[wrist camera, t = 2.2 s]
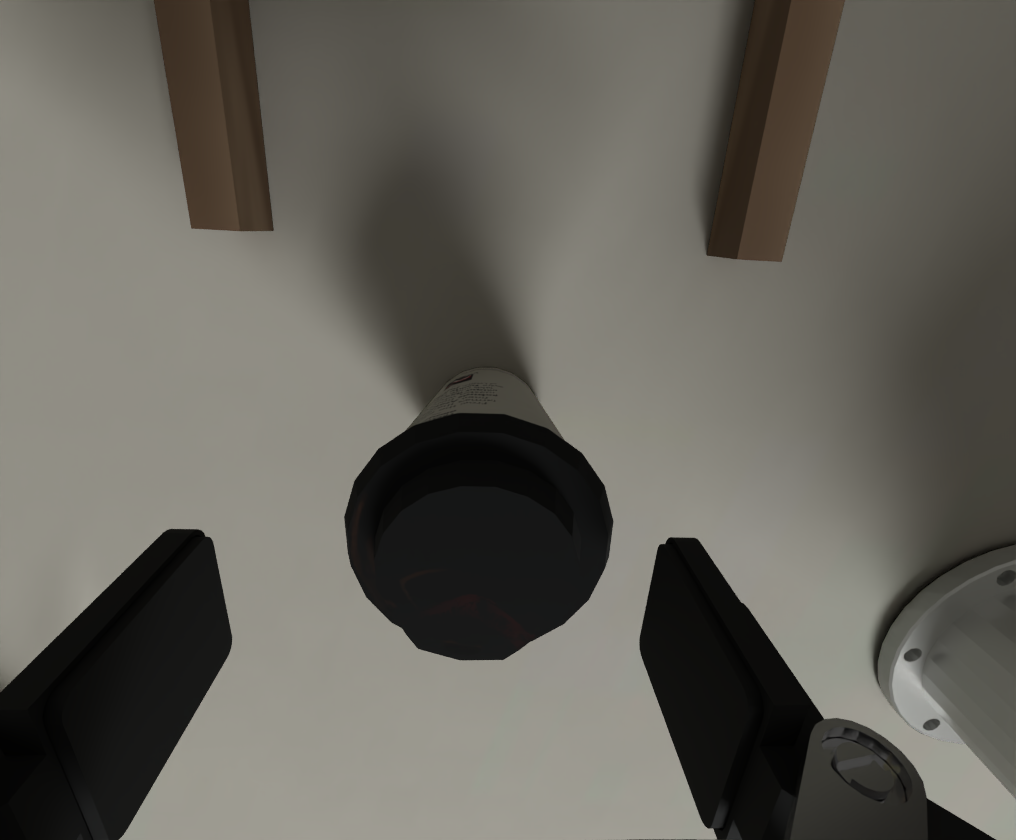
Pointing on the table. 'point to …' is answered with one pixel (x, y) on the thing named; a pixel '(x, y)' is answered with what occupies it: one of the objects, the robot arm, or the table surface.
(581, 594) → the coffee cup
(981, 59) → the table surface
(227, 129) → the bay
